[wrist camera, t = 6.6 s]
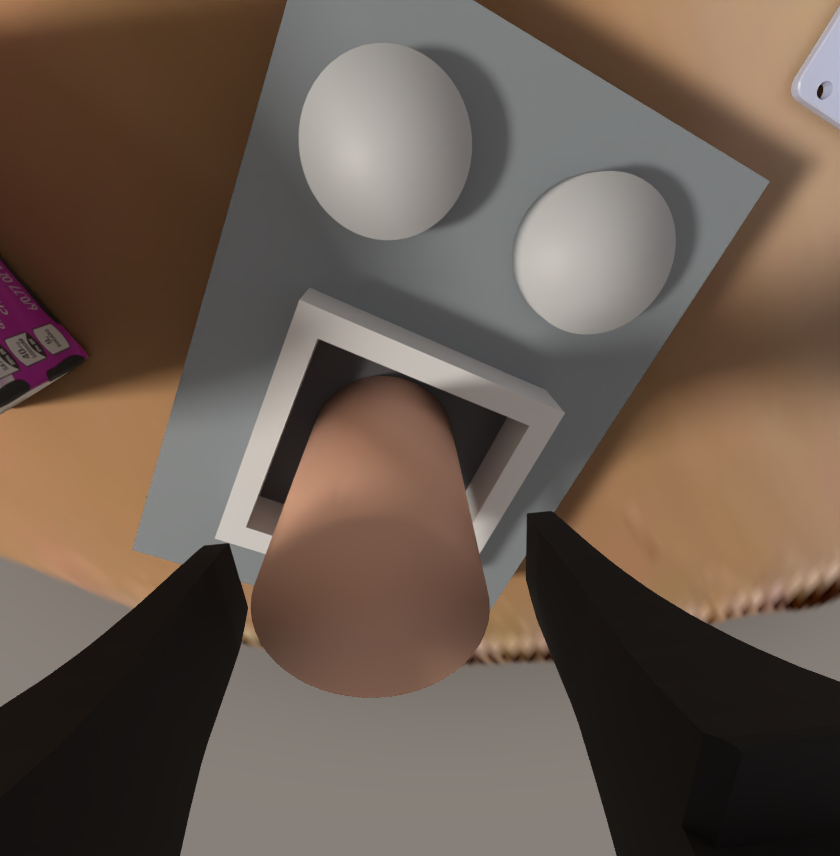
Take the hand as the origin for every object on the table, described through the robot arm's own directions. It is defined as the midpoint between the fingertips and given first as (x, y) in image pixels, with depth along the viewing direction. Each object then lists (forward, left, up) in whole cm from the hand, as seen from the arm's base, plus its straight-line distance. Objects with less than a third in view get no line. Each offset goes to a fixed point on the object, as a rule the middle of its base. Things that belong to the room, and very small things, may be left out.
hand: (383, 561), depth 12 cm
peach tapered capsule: (0, 0, -6) cm, 6 cm away
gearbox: (0, -2, -10) cm, 10 cm away
